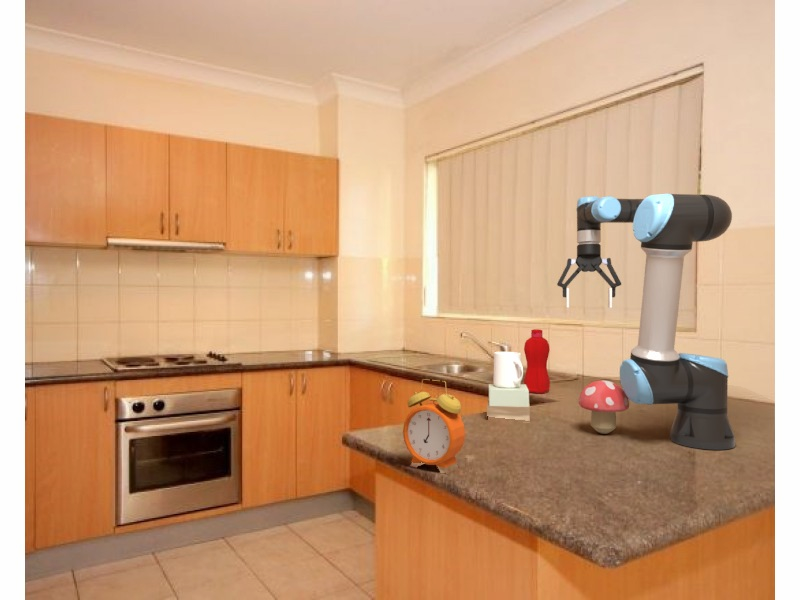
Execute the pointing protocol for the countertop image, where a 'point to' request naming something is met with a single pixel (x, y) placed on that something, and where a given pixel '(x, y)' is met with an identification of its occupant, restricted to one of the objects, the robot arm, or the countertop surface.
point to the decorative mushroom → (603, 404)
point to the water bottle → (537, 363)
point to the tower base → (509, 412)
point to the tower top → (509, 396)
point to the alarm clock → (434, 429)
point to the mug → (507, 369)
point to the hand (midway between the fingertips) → (588, 307)
